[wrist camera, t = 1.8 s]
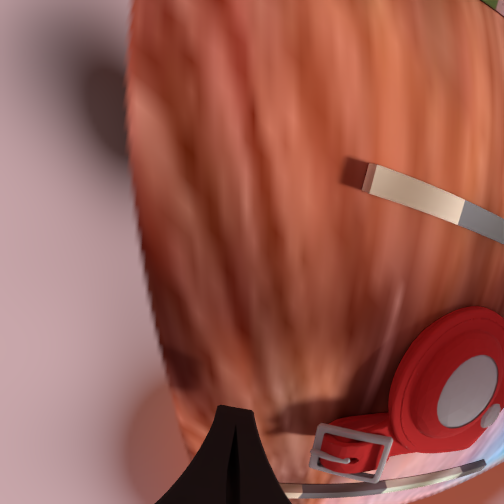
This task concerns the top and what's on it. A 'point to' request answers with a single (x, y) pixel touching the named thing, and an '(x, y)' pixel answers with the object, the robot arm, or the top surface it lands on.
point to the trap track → (449, 209)
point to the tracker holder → (425, 399)
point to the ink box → (496, 5)
